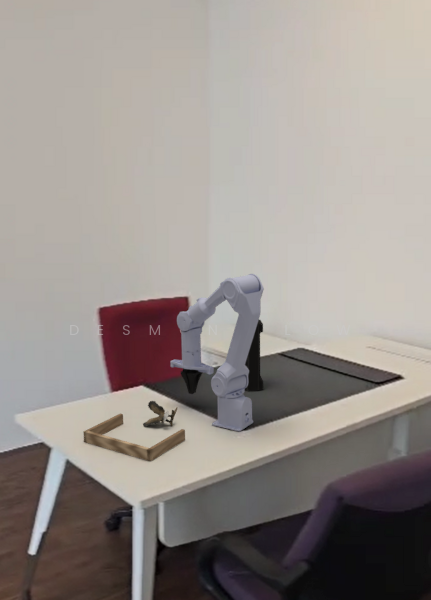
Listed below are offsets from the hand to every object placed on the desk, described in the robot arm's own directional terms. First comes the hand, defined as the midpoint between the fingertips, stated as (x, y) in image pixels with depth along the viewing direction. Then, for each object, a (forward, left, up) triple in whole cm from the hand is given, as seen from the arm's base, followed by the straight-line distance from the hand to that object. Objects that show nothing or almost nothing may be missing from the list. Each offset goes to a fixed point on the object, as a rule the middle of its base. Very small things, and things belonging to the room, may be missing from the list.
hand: (192, 392), depth 200 cm
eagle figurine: (+1, +15, -5) cm, 16 cm away
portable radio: (-6, -26, -5) cm, 27 cm away
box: (0, +28, -5) cm, 28 cm away
